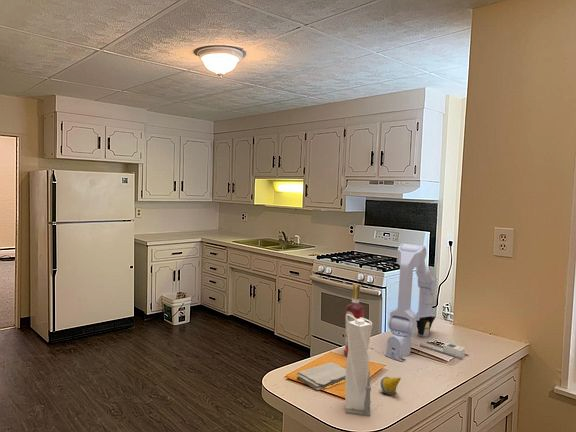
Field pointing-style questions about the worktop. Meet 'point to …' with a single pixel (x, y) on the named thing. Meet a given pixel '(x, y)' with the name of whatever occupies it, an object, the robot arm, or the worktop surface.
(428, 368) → the worktop surface
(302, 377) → the washcloth
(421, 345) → the board
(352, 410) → the skyscraper
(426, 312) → the robot arm
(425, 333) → the marbled round peg
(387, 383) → the yellow pear
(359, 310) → the liquor
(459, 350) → the block
